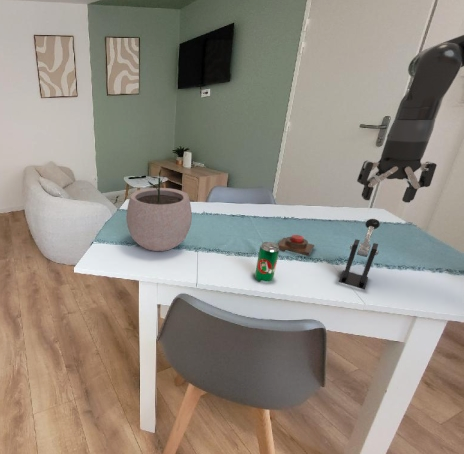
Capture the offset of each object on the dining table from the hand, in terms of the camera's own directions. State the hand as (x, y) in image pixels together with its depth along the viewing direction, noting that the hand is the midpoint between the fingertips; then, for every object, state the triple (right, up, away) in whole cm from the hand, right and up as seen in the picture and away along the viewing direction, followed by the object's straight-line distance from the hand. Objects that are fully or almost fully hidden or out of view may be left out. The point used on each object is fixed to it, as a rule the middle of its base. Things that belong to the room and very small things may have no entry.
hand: (385, 200), depth 78 cm
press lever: (+1, -11, +7) cm, 13 cm away
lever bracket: (-2, -24, +8) cm, 25 cm away
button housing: (-6, -16, +28) cm, 32 cm away
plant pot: (-55, -15, +35) cm, 67 cm away
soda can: (-27, -24, +12) cm, 38 cm away
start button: (-7, -12, +26) cm, 30 cm away
